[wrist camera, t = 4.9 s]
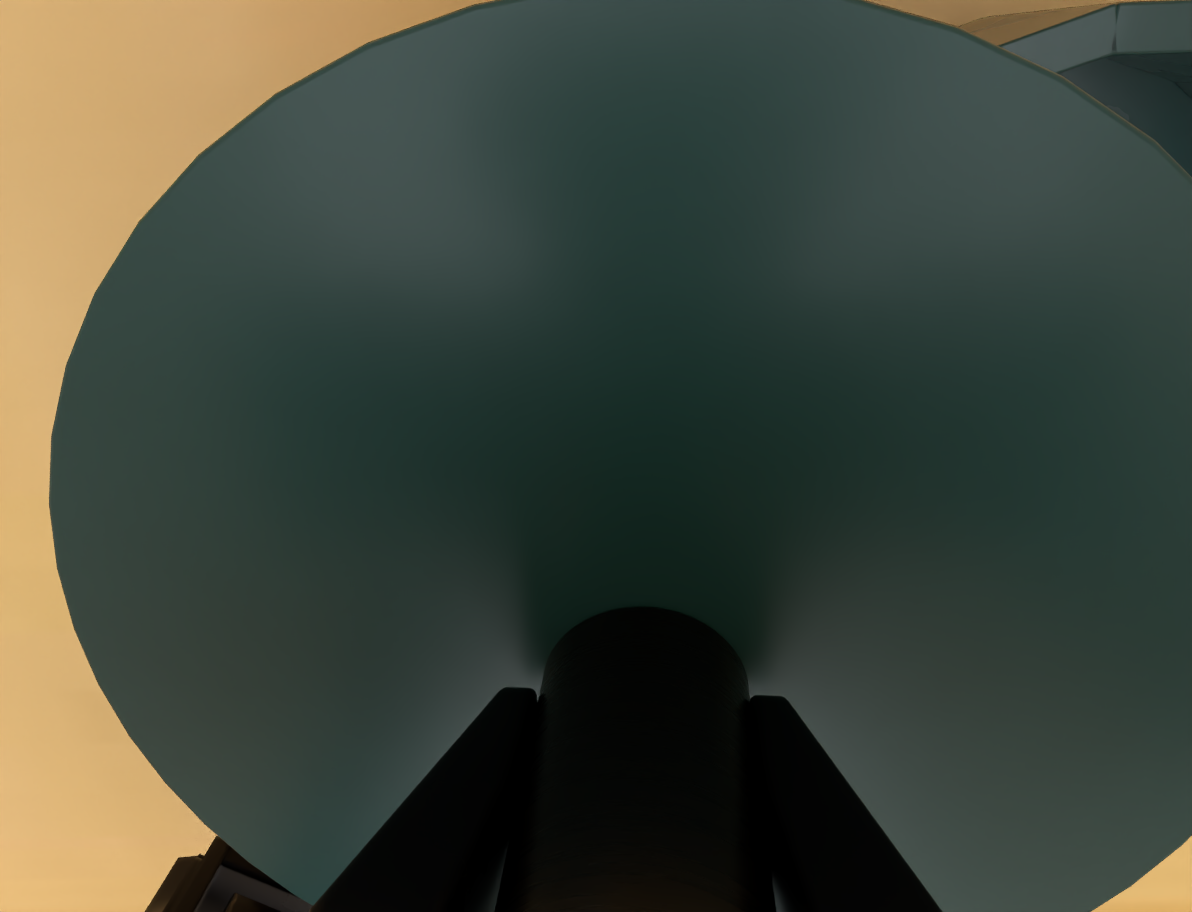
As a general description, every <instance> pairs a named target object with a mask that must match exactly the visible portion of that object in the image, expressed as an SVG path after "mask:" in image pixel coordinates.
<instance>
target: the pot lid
mask: <svg viewBox="0 0 1192 912" xmlns="http://www.w3.org/2000/svg"><path fill="white" fill-rule="evenodd" d="M49 508H50V516H51V523H52V531H53V539H54V547H55V555H56V563H57V570H58V573H59V577H60V580H61V584H62V587H63V591H64V595H65V598H66V602H67V605H68V609H69V612H70V616H71V619H72V623H73V627H74V630H75V632H76V634H77V636H78V639H79V641H80V643H81V646H82V648H83V650H84V652H85V655H86V657H87V659H88V662H89V664H90V666H91V668H92V671H93V673H94V675H95V678H96V680H97V682H98V684H99V686H100V688H101V690H102V691H103V693H104V695H105V696H106V698H107V700H108V701H109V703H110V705H111V706H112V708H113V710H114V711H115V713H116V715H117V716H118V718H119V720H120V721H121V723H122V725H123V726H124V728H125V730H126V731H127V733H128V735H129V736H130V738H131V739H132V740H133V741H134V743H135V744H136V745H137V747H138V748H139V749H140V751H141V752H142V753H143V754H144V756H145V757H146V758H147V760H148V761H149V762H150V764H151V765H152V766H153V768H154V769H155V770H156V771H157V773H158V774H159V775H160V777H161V778H162V779H163V781H164V782H165V783H166V784H167V785H168V786H169V787H170V788H171V789H172V790H173V791H174V792H175V793H176V795H177V796H178V797H179V798H180V799H181V800H182V801H183V802H184V803H185V804H186V805H187V806H188V807H189V808H190V809H191V810H192V811H193V812H194V813H195V814H196V816H197V817H198V818H199V819H200V820H201V821H202V822H203V823H204V824H205V825H206V826H207V827H209V828H210V829H211V830H212V831H213V832H214V833H216V834H217V835H218V836H219V837H220V838H221V839H222V840H224V841H225V842H226V843H227V844H228V845H229V846H231V847H232V848H233V849H234V850H235V851H236V852H238V853H239V854H240V855H241V856H242V857H243V858H245V859H246V860H247V861H248V862H249V863H251V864H252V865H254V866H255V867H256V868H258V869H259V870H261V871H262V872H263V873H265V874H266V875H268V876H269V877H270V878H272V879H273V880H275V881H276V882H277V883H279V884H280V885H282V886H283V887H284V888H286V889H287V890H289V891H290V892H291V893H293V894H294V895H296V896H298V897H299V898H301V899H303V900H304V901H306V902H308V903H309V904H311V905H314V904H315V903H316V902H317V901H318V899H319V898H320V897H321V896H322V895H323V894H324V893H325V891H326V890H327V889H328V888H329V887H330V886H331V884H332V883H333V882H334V881H335V880H336V879H337V878H338V876H339V875H340V874H341V873H342V872H343V871H344V869H345V868H346V867H347V866H348V865H349V864H350V863H351V861H352V860H353V859H354V858H355V857H356V856H357V854H358V853H359V852H360V851H361V850H362V849H363V848H364V846H365V845H366V844H367V843H368V842H369V841H370V839H371V838H372V837H373V836H374V835H375V834H376V833H377V831H378V830H379V829H380V828H381V827H382V826H383V824H384V823H385V822H386V821H387V820H388V819H389V818H390V816H391V815H392V814H393V813H394V812H395V811H396V809H397V808H398V807H399V806H400V805H401V804H402V803H403V801H404V800H405V799H406V798H407V797H408V796H409V794H410V793H411V792H412V791H413V790H414V789H415V788H416V786H417V785H418V784H419V783H420V782H421V781H422V779H423V778H424V777H425V776H426V775H427V774H428V773H429V771H430V770H431V769H432V768H433V767H434V766H435V764H436V763H437V762H438V761H439V760H440V759H441V758H442V756H443V755H444V754H445V753H446V752H447V751H448V749H449V748H450V747H451V746H452V745H453V744H454V743H455V741H456V740H457V739H458V738H459V737H460V736H461V734H462V733H463V732H464V731H465V730H466V729H467V728H468V726H469V725H470V724H471V723H472V722H473V721H474V719H475V718H476V717H477V716H478V715H479V714H480V713H481V711H482V710H483V709H484V708H485V707H486V706H487V704H488V703H489V702H490V701H491V700H492V699H493V697H494V696H495V695H496V694H497V693H498V692H499V691H500V690H501V689H503V688H505V687H522V688H532V689H533V690H535V692H536V694H537V701H538V703H537V708H536V713H535V718H534V723H533V728H532V732H531V737H530V742H529V747H528V752H527V757H526V761H525V766H524V771H523V776H522V781H521V786H520V790H519V795H518V800H517V805H516V810H515V815H514V819H513V824H512V829H511V834H510V839H509V843H508V848H507V853H506V858H505V863H504V868H503V872H502V877H501V882H500V887H499V892H498V897H497V901H496V906H495V911H494V912H776V904H775V896H774V888H773V880H772V872H771V864H770V856H769V847H768V839H767V832H766V826H765V819H764V813H763V807H762V800H761V792H760V784H759V776H758V768H757V760H756V752H755V744H754V736H753V728H752V719H751V711H750V699H751V697H753V696H754V695H770V696H783V697H785V698H786V699H787V700H788V701H789V702H790V704H791V705H792V706H793V708H794V709H795V710H796V712H797V713H798V715H799V716H800V717H801V719H802V720H803V721H804V723H805V724H806V725H807V727H808V728H809V730H810V731H811V732H812V734H813V735H814V736H815V738H816V739H817V741H818V742H819V743H820V745H821V746H822V747H823V749H824V750H825V751H826V753H827V754H828V756H829V757H830V758H831V760H832V761H833V762H834V764H835V765H836V766H837V768H838V769H839V771H840V772H841V773H842V775H843V776H844V777H845V779H846V780H847V782H848V783H849V784H850V786H851V787H852V788H853V790H854V791H855V792H856V794H857V795H858V797H859V798H860V799H861V801H862V802H863V803H864V805H865V806H866V807H867V809H868V810H869V812H870V813H871V814H872V816H873V817H874V818H875V820H876V821H877V823H878V824H879V825H880V827H881V828H882V829H883V831H884V832H885V833H886V835H887V836H888V838H889V839H890V840H891V842H892V843H893V844H894V846H895V847H896V848H897V850H898V851H899V853H900V854H901V855H902V857H903V858H904V859H905V861H906V862H907V864H908V865H909V866H910V868H911V869H912V870H913V872H914V873H915V874H916V876H917V877H918V879H919V880H920V881H921V883H922V884H923V885H924V887H925V888H926V890H927V891H928V892H929V894H930V895H931V896H932V898H933V899H934V900H935V902H936V903H937V905H938V906H939V907H940V909H941V910H942V911H943V912H1091V911H1092V910H1094V909H1096V908H1097V907H1099V906H1100V905H1102V904H1103V903H1105V902H1107V901H1108V900H1110V899H1111V898H1113V897H1114V896H1116V895H1118V894H1119V893H1121V892H1122V891H1124V890H1125V889H1127V888H1128V887H1130V886H1132V885H1133V884H1134V883H1135V882H1137V881H1138V880H1139V879H1140V878H1142V877H1143V876H1144V875H1145V874H1147V873H1148V872H1149V871H1150V870H1152V869H1153V868H1154V867H1155V866H1157V865H1158V864H1159V863H1160V862H1161V861H1163V860H1164V859H1165V858H1166V857H1168V856H1169V855H1170V854H1171V853H1173V852H1174V851H1175V850H1176V849H1178V848H1179V847H1180V846H1181V845H1183V844H1184V843H1185V842H1186V841H1187V840H1188V839H1189V837H1190V836H1191V835H1192V177H1191V176H1190V175H1189V174H1188V173H1187V172H1186V171H1185V170H1184V169H1183V168H1182V167H1181V166H1180V165H1179V164H1178V163H1177V162H1176V161H1175V160H1174V159H1173V158H1172V157H1171V156H1170V155H1169V154H1168V153H1167V152H1166V151H1165V150H1164V149H1163V148H1162V147H1161V146H1160V145H1159V144H1158V143H1157V142H1156V141H1155V140H1154V139H1152V138H1151V137H1150V136H1148V135H1147V134H1145V133H1144V132H1142V131H1141V130H1140V129H1138V128H1137V127H1135V126H1134V125H1132V124H1131V123H1129V122H1128V121H1127V120H1125V119H1124V118H1122V117H1121V116H1119V115H1118V114H1116V113H1115V112H1114V111H1112V110H1111V109H1109V108H1108V107H1106V106H1105V105H1103V104H1102V103H1101V102H1099V101H1098V100H1096V99H1095V98H1093V97H1092V96H1090V95H1089V94H1088V93H1086V92H1085V91H1083V90H1082V89H1080V88H1079V87H1077V86H1076V85H1075V84H1073V83H1072V82H1070V81H1069V80H1067V79H1066V78H1064V77H1063V76H1061V75H1059V74H1057V73H1055V72H1053V71H1050V70H1048V69H1046V68H1044V67H1042V66H1040V65H1038V64H1035V63H1033V62H1031V61H1029V60H1027V59H1025V58H1023V57H1021V56H1018V55H1016V54H1014V53H1012V52H1010V51H1008V50H1006V49H1003V48H1001V47H999V46H997V45H995V44H993V43H991V42H988V41H986V40H984V39H982V38H980V37H978V36H976V35H973V34H971V33H969V32H967V31H965V30H963V29H961V28H958V27H956V26H954V25H950V24H946V23H943V22H939V21H936V20H932V19H929V18H925V17H922V16H918V15H915V14H911V13H908V12H904V11H901V10H897V9H893V8H890V7H886V6H883V5H879V4H876V3H872V2H869V1H865V0H495V1H489V2H484V3H479V4H474V5H471V6H468V7H466V8H463V9H460V10H457V11H454V12H452V13H449V14H446V15H443V16H441V17H438V18H435V19H432V20H429V21H427V22H424V23H421V24H418V25H415V26H413V27H410V28H407V29H404V30H402V31H399V32H396V33H393V34H390V35H388V36H385V37H382V38H379V39H376V40H374V41H371V42H368V43H366V44H364V45H363V46H361V47H359V48H357V49H355V50H354V51H352V52H350V53H348V54H346V55H345V56H343V57H341V58H339V59H337V60H336V61H334V62H332V63H330V64H328V65H326V66H325V67H323V68H321V69H319V70H317V71H316V72H314V73H312V74H310V75H308V76H307V77H305V78H303V79H301V80H299V81H298V82H296V83H294V84H292V85H290V86H289V87H287V88H285V89H283V90H281V91H279V92H278V93H276V94H274V95H273V96H272V97H271V98H269V99H268V100H267V101H266V102H264V103H263V104H262V105H261V106H259V107H258V108H257V109H256V110H254V111H253V112H252V113H251V114H249V115H248V116H247V117H246V118H244V119H243V120H242V121H240V122H239V123H238V124H237V125H235V126H234V127H233V128H232V129H230V130H229V131H228V132H227V133H225V134H224V135H223V136H222V137H220V138H219V139H218V140H217V141H215V142H214V143H213V144H212V145H210V146H209V147H208V148H206V149H205V150H204V151H203V152H201V153H200V154H199V155H198V156H197V157H196V158H195V159H194V161H193V162H192V163H191V164H190V165H189V166H188V167H187V168H186V170H185V171H184V172H183V173H182V174H181V175H180V176H179V177H178V179H177V180H176V181H175V182H174V183H173V184H172V185H171V186H170V187H169V189H168V190H167V191H166V192H165V193H164V194H163V195H162V196H161V198H160V199H159V200H158V201H157V202H156V203H155V204H154V205H153V207H152V208H151V209H150V210H149V211H148V212H147V213H146V214H145V215H144V217H143V218H142V219H141V220H140V221H139V222H138V224H137V226H136V227H135V229H134V231H133V232H132V234H131V235H130V237H129V239H128V240H127V242H126V243H125V245H124V247H123V248H122V250H121V252H120V253H119V255H118V256H117V258H116V260H115V261H114V263H113V264H112V266H111V268H110V269H109V271H108V273H107V274H106V276H105V277H104V279H103V281H102V282H101V284H100V286H99V287H98V289H97V290H96V292H95V294H94V296H93V299H92V301H91V304H90V306H89V309H88V311H87V314H86V316H85V319H84V321H83V324H82V326H81V329H80V331H79V334H78V337H77V339H76V342H75V344H74V347H73V349H72V352H71V354H70V357H69V359H68V362H67V364H66V368H65V373H64V377H63V382H62V387H61V392H60V397H59V402H58V407H57V411H56V416H55V421H54V426H53V431H52V436H51V462H50V491H49Z"/></svg>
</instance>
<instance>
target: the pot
mask: <svg viewBox="0 0 1192 912" xmlns="http://www.w3.org/2000/svg"><path fill="white" fill-rule="evenodd" d="M958 28H961V29H963V30H965V31H967V32H969V33H971V34H973V35H976V36H978V37H980V38H982V39H984V40H986V41H988V42H991V43H993V44H995V45H997V46H999V47H1001V48H1003V49H1006V50H1008V51H1010V52H1012V53H1014V54H1016V55H1018V56H1021V57H1023V58H1025V59H1027V60H1029V61H1031V62H1033V63H1035V64H1038V65H1040V66H1042V67H1044V68H1046V69H1048V70H1050V71H1053V72H1055V73H1057V74H1059V75H1061V76H1063V77H1064V78H1066V79H1067V80H1069V81H1070V82H1072V83H1073V84H1075V85H1076V86H1077V87H1079V88H1080V89H1082V90H1083V91H1085V92H1086V93H1088V94H1089V95H1090V96H1092V97H1093V98H1095V99H1096V100H1098V101H1099V102H1101V103H1102V104H1103V105H1105V106H1106V107H1108V108H1109V109H1111V110H1112V111H1114V112H1115V113H1116V114H1118V115H1119V116H1121V117H1122V118H1124V119H1125V120H1127V121H1128V122H1129V123H1131V124H1132V125H1134V126H1135V127H1137V128H1138V129H1140V130H1141V131H1142V132H1144V133H1145V134H1147V135H1148V136H1150V137H1151V138H1152V139H1154V140H1155V141H1156V142H1157V143H1158V144H1159V145H1160V146H1161V147H1162V148H1163V149H1164V150H1165V151H1166V152H1167V153H1168V154H1169V155H1170V156H1171V157H1172V158H1173V159H1174V160H1175V161H1176V162H1177V163H1178V164H1179V165H1180V166H1181V167H1182V168H1183V169H1184V170H1185V171H1186V172H1187V173H1188V174H1189V175H1190V176H1191V177H1192V0H1162V1H1134V2H1116V3H1107V4H1098V5H1089V6H1080V7H1071V8H1062V9H1053V10H1044V11H1035V12H1026V13H1017V14H1008V15H999V16H989V17H985V18H980V19H978V20H975V21H972V22H970V23H967V24H964V25H961V26H959V27H958Z"/></svg>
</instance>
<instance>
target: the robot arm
mask: <svg viewBox="0 0 1192 912" xmlns="http://www.w3.org/2000/svg"><path fill="white" fill-rule="evenodd" d="M537 703H538V701H537V694H536V692H535V690H533V689H532V688H522V687H505V688H503V689H501V690H500V691H499V692H498V693H497V694H496V695H495V696H494V697H493V699H492V700H491V701H490V702H489V703H488V704H487V706H486V707H485V708H484V709H483V710H482V711H481V713H480V714H479V715H478V716H477V717H476V718H475V719H474V721H473V722H472V723H471V724H470V725H469V726H468V728H467V729H466V730H465V731H464V732H463V733H462V734H461V736H460V737H459V738H458V739H457V740H456V741H455V743H454V744H453V745H452V746H451V747H450V748H449V749H448V751H447V752H446V753H445V754H444V755H443V756H442V758H441V759H440V760H439V761H438V762H437V763H436V764H435V766H434V767H433V768H432V769H431V770H430V771H429V773H428V774H427V775H426V776H425V777H424V778H423V779H422V781H421V782H420V783H419V784H418V785H417V786H416V788H415V789H414V790H413V791H412V792H411V793H410V794H409V796H408V797H407V798H406V799H405V800H404V801H403V803H402V804H401V805H400V806H399V807H398V808H397V809H396V811H395V812H394V813H393V814H392V815H391V816H390V818H389V819H388V820H387V821H386V822H385V823H384V824H383V826H382V827H381V828H380V829H379V830H378V831H377V833H376V834H375V835H374V836H373V837H372V838H371V839H370V841H369V842H368V843H367V844H366V845H365V846H364V848H363V849H362V850H361V851H360V852H359V853H358V854H357V856H356V857H355V858H354V859H353V860H352V861H351V863H350V864H349V865H348V866H347V867H346V868H345V869H344V871H343V872H342V873H341V874H340V875H339V876H338V878H337V879H336V880H335V881H334V882H333V883H332V884H331V886H330V887H329V888H328V889H327V890H326V891H325V893H324V894H323V895H322V896H321V897H320V898H319V899H318V901H317V902H316V903H315V904H314V905H311V904H309V903H308V902H306V901H304V900H303V899H301V898H299V897H298V896H296V895H294V894H293V893H291V892H290V891H289V890H287V889H286V888H284V887H283V886H282V885H280V884H279V883H277V882H276V881H275V880H273V879H272V878H270V877H269V876H268V875H266V874H265V873H263V872H262V871H261V870H259V869H258V868H256V867H255V866H254V865H252V864H251V863H249V862H248V861H247V860H246V859H245V858H243V857H242V856H241V855H240V854H239V853H238V852H236V851H235V850H234V849H233V848H232V847H231V846H229V845H228V844H227V843H226V842H225V841H224V840H222V839H221V838H220V837H219V836H216V837H215V839H214V841H213V842H212V844H211V846H210V847H209V849H208V851H207V852H206V854H205V856H204V855H201V854H199V855H198V856H191V857H180V858H178V859H177V861H176V862H175V864H174V866H173V867H172V869H171V870H170V872H169V874H168V875H167V877H166V879H165V880H164V882H163V883H162V885H161V887H160V888H159V890H158V891H157V893H156V895H155V896H154V898H153V899H152V901H151V903H150V904H149V906H148V907H147V909H146V910H145V912H494V911H495V906H496V901H497V897H498V892H499V887H500V882H501V877H502V872H503V868H504V863H505V858H506V853H507V848H508V843H509V839H510V834H511V829H512V824H513V819H514V815H515V810H516V805H517V800H518V795H519V790H520V786H521V781H522V776H523V771H524V766H525V761H526V757H527V752H528V747H529V742H530V737H531V732H532V728H533V723H534V718H535V713H536V708H537ZM750 711H751V719H752V728H753V736H754V744H755V752H756V760H757V768H758V776H759V784H760V792H761V800H762V807H763V813H764V819H765V826H766V832H767V839H768V847H769V856H770V864H771V872H772V880H773V888H774V896H775V904H776V912H943V911H942V910H941V909H940V907H939V906H938V905H937V903H936V902H935V900H934V899H933V898H932V896H931V895H930V894H929V892H928V891H927V890H926V888H925V887H924V885H923V884H922V883H921V881H920V880H919V879H918V877H917V876H916V874H915V873H914V872H913V870H912V869H911V868H910V866H909V865H908V864H907V862H906V861H905V859H904V858H903V857H902V855H901V854H900V853H899V851H898V850H897V848H896V847H895V846H894V844H893V843H892V842H891V840H890V839H889V838H888V836H887V835H886V833H885V832H884V831H883V829H882V828H881V827H880V825H879V824H878V823H877V821H876V820H875V818H874V817H873V816H872V814H871V813H870V812H869V810H868V809H867V807H866V806H865V805H864V803H863V802H862V801H861V799H860V798H859V797H858V795H857V794H856V792H855V791H854V790H853V788H852V787H851V786H850V784H849V783H848V782H847V780H846V779H845V777H844V776H843V775H842V773H841V772H840V771H839V769H838V768H837V766H836V765H835V764H834V762H833V761H832V760H831V758H830V757H829V756H828V754H827V753H826V751H825V750H824V749H823V747H822V746H821V745H820V743H819V742H818V741H817V739H816V738H815V736H814V735H813V734H812V732H811V731H810V730H809V728H808V727H807V725H806V724H805V723H804V721H803V720H802V719H801V717H800V716H799V715H798V713H797V712H796V710H795V709H794V708H793V706H792V705H791V704H790V702H789V701H788V700H787V699H786V698H785V697H783V696H770V695H754V696H753V697H751V699H750Z"/></svg>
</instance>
